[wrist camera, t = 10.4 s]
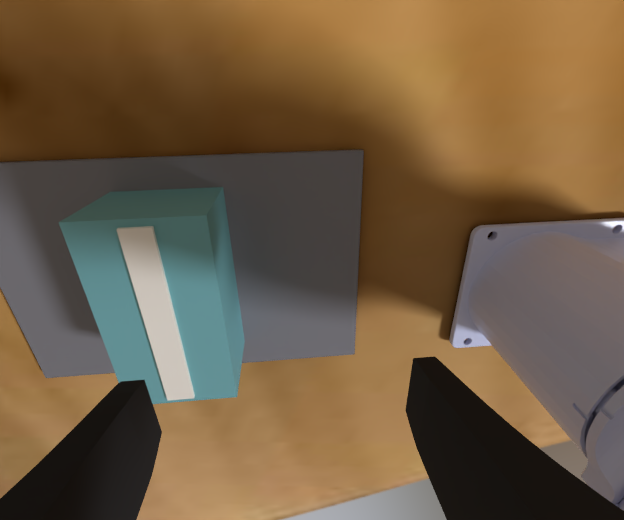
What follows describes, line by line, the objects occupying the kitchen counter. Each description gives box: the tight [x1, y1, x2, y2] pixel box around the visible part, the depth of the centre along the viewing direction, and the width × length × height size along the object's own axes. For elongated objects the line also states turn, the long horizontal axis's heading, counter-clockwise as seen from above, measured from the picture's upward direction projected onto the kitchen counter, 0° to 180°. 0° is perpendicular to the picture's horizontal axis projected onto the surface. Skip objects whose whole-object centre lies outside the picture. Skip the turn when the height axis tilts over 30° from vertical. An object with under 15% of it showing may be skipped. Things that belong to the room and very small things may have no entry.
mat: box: [0, 149, 364, 378], centre depth 18 cm, size 18×12×1 cm, turn 91°
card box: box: [59, 187, 245, 404], centre depth 16 cm, size 9×5×4 cm, turn 1°
